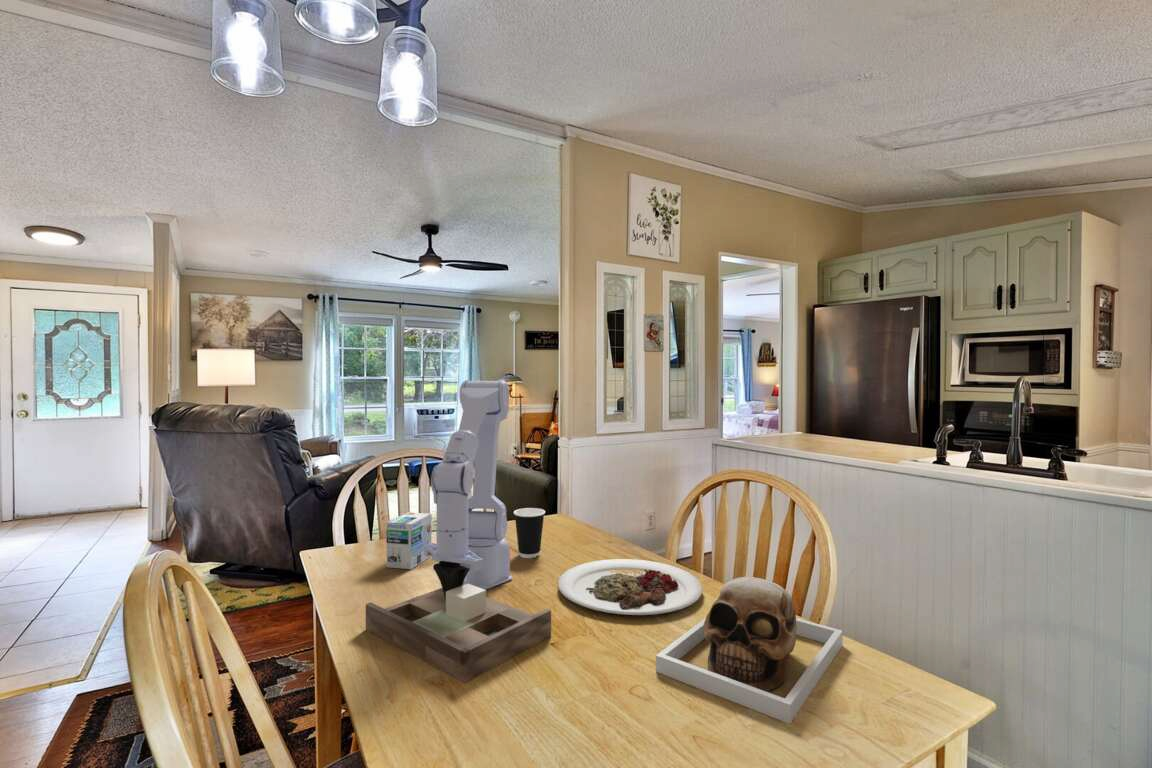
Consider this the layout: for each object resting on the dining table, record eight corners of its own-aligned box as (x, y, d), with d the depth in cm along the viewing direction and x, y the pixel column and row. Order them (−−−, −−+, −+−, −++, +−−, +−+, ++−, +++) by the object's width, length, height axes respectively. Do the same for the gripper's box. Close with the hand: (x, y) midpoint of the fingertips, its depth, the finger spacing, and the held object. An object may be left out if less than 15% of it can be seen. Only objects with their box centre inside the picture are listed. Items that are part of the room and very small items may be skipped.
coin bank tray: (728, 612, 105) (728, 599, 105) (842, 645, 92) (842, 630, 92) (655, 671, 84) (656, 655, 84) (790, 724, 71) (790, 704, 71)
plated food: (528, 592, 115) (528, 576, 115) (617, 558, 137) (617, 544, 137) (645, 639, 95) (645, 619, 95) (728, 590, 117) (728, 574, 117)
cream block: (467, 604, 102) (467, 583, 102) (485, 612, 99) (485, 590, 99) (445, 613, 98) (445, 591, 98) (464, 621, 95) (464, 598, 95)
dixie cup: (507, 554, 139) (507, 510, 139) (534, 548, 144) (534, 506, 144) (524, 562, 133) (524, 517, 133) (551, 556, 138) (551, 512, 137)
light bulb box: (411, 570, 127) (411, 523, 127) (385, 568, 129) (385, 522, 128) (432, 555, 138) (432, 512, 138) (407, 553, 139) (407, 511, 139)
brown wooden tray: (451, 596, 112) (451, 574, 112) (551, 635, 95) (551, 610, 95) (365, 629, 97) (365, 604, 97) (464, 683, 80) (464, 652, 80)
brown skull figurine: (721, 698, 76) (722, 596, 78) (685, 649, 94) (686, 567, 95) (832, 697, 78) (830, 597, 79) (776, 649, 95) (776, 568, 97)
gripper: (410, 525, 102) (410, 598, 102) (460, 540, 93) (460, 619, 93) (441, 518, 108) (441, 587, 108) (491, 531, 99) (491, 606, 99)
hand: (452, 601), depth 101 cm, fingers closed
